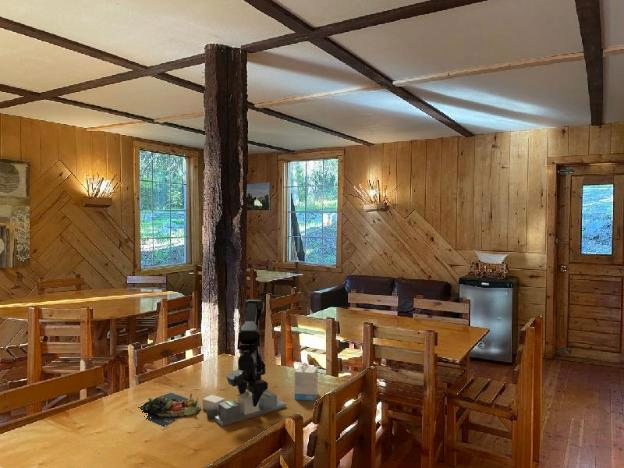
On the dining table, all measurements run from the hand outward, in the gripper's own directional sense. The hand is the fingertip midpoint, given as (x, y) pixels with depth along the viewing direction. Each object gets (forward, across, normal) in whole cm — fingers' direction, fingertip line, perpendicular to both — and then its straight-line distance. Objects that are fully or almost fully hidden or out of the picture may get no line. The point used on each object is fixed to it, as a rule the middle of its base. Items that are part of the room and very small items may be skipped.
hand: (248, 402), depth 172 cm
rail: (+5, 0, +2) cm, 5 cm away
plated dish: (+6, -23, -21) cm, 32 cm away
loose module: (+3, 0, 0) cm, 3 cm away
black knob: (+5, -7, -11) cm, 14 cm away
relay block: (+5, -14, -8) cm, 16 cm away
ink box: (+5, -1, +28) cm, 29 cm away
